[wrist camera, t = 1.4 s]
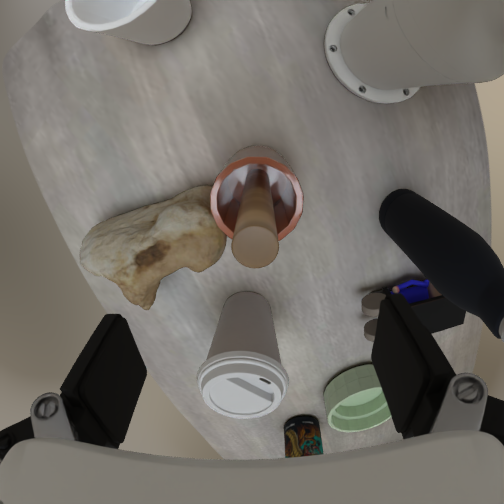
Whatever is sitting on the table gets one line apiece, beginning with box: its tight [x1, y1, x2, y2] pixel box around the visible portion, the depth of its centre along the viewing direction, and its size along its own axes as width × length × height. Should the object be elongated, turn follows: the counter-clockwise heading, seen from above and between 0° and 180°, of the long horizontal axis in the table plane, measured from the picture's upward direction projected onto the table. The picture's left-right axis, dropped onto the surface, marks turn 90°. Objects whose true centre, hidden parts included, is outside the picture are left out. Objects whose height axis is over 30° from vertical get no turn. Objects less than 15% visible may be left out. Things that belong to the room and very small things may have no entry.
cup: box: [65, 0, 192, 45], centre depth 20 cm, size 10×10×13 cm
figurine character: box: [362, 279, 466, 342], centre depth 37 cm, size 7×8×15 cm
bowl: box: [323, 365, 392, 432], centre depth 46 cm, size 13×13×6 cm
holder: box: [210, 146, 304, 241], centre depth 29 cm, size 8×8×10 cm
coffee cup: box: [197, 292, 289, 419], centre depth 35 cm, size 10×10×15 cm
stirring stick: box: [231, 169, 279, 268], centre depth 25 cm, size 3×3×18 cm
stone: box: [80, 185, 227, 310], centre depth 32 cm, size 17×12×10 cm
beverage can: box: [284, 416, 323, 458], centre depth 48 cm, size 7×7×12 cm
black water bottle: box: [379, 189, 504, 342], centre depth 21 cm, size 6×6×30 cm
